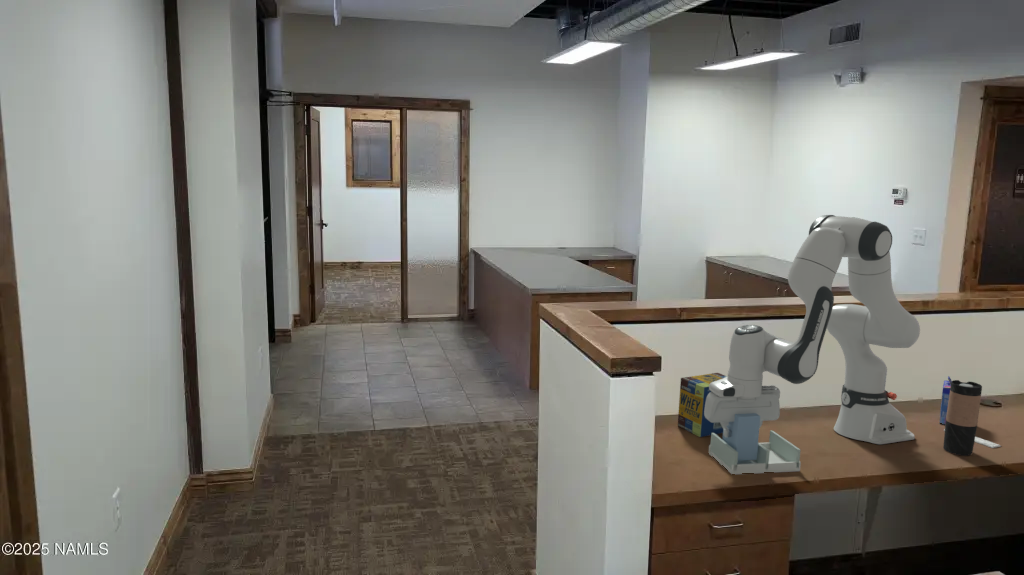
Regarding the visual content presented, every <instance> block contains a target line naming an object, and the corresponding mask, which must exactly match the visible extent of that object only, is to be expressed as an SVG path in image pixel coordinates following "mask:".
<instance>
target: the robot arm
mask: <svg viewBox="0 0 1024 575" xmlns="http://www.w3.org/2000/svg"><path fill="white" fill-rule="evenodd" d="M892 245H893V235H892V232H891V230H890V228H889V227H888V226H887V225H885V224H883V223H881V222H878V221H871V220H868V219H864V218H860V217H859V218H858V217H854V216H853V217H851V216H850V217H849V216H840V215H838V216H837V215H834V214H826V215H825V214H824V215H820V216H818V217H817V218H816V219H815V220H814V221H813V222H812V223H811V225H810V227H809V230H808V236H807V237H806V239H805V240H804V242H803V243H802V245H801V246H800V248H799V250H798V251H797V253H796V255H795V257H794V260H793V261H792V263H791V265H790V268H789V270H788V274H787V281H788V285H789V288H790V289H791V291H792V292H793V293H794V295H795V296H797V297H798V298H799V299H800V300H801V301H802V302H803V303H804V305H805V310H806V311H805V316H804V319H803V322H802V325H801V327H800V332H799V335H798V337H797V339H796V340H795V341H791V340H787V339H785V338H782V337H779V336H777V335H774V334H771V333H769V332H767V331H766V330H765V329H764V328H763V327H762V326H761V325H760V326H759V325H755V324H744V325H741V326H738V327H736V328H735V329H734V331H733V333H732V336H731V338H730V339H731V340H730V343H729V344H730V345H729V354H728V360H729V368H728V370H727V375H726V376H727V377H725V378H723V379H720V380H717V381H714V382H712V383H710V384H709V390H710V391H712V392H710V393H709V394H708V395H707V398H706V402H705V409H704V416H705V418H706V419H707V420H708V421H710V422H712V423H716V422H720V424H721V426H722V427H723V429H724V436H725V437H731V436H732V435H731V434H732V431H731V430H729V429H728V428H727V426H728V425H729V422H734V420H735V414H752V413H756V414H758V415H759V416H760V426H759V429H760V428H761V427H762V426H763V422H764V421H766V422H767V421H777V420H779V418H780V413H781V410H780V408H781V406H780V397H781V391H780V389H779V388H778V387H777V386H776V385H763V377H764V376H763V374H764V372H769V373H770V374H773V375H776V376H777V377H780V378H781V379H783V380H785V381H787V382H789V383H791V384H793V385H799V384H803V383H805V382H808V380H810V379H811V378H812V377H814V376H815V374H816V372H817V370H818V366H819V358H820V352H821V348H822V344H823V341H824V338H825V334H826V331H828V333H829V334H830V335H831V336H832V337H833V339H835V340H836V341H837V343H838V344H839V346H840V348H841V350H842V353H843V355H844V360H845V370H844V371H845V372H844V383H843V385H842V386H841V387H842V389H841V396H840V398H841V404H840V408H839V409H840V410H839V412H838V417H837V419H836V422H835V424H834V427H833V430H834V431H835V433H837V434H839V435H841V436H843V437H846V438H848V439H849V438H850V439H852V440H857V441H862V442H863V441H864V442H868V443H872V444H876V445H886V444H891V443H897V442H898V443H899V442H906V441H911V440H915V438H916V437H915V436H916V435H915V434H914V433H913V432H912V431H910V430H909V429H907V425H908V424H907V419H906V417H905V415H904V414H903V413H902V412H901V411H899V410H898V409H897V407H895V406H894V405H892V404H891V403H890V400H889V399H891V400H892V401H896V399H897V398H898V395H897V393H894V392H892V391H888V390H886V383H887V375H888V367H887V365H886V363H885V362H884V360H883V359H882V358H880V357H879V356H877V355H876V354H875V353H874V352H873V351H872V348H871V345H873V346H879V347H886V348H888V349H889V348H890V349H908V348H910V347H912V346H913V345H914V344H916V342H917V341H918V339H919V337H920V333H921V325H920V324H919V321H918V319H917V318H916V317H915V316H914V315H913V314H912V313H910V312H909V311H908V310H906V308H904V307H903V305H902V304H901V303H900V301H899V300H898V298H897V296H896V294H895V293H894V289H893V281H892V280H893V279H892V262H891V260H892V259H891V253H890V252H891V248H892ZM843 258H847V274H848V276H847V277H848V290H849V293H850V294H851V296H852V297H853V298H854V299H856V300H857V301H858V302H860V303H861V304H863V305H860V304H855V303H844V304H843V303H842V304H841V303H840V304H835V305H834V302H835V294H834V293H833V291H832V286H833V282H834V279H835V276H836V274H837V272H838V270H839V267H840V266H841V263H842V259H843Z"/></svg>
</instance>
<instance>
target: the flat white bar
mask: <svg viewBox="0 0 1024 575" xmlns="http://www.w3.org/2000/svg"><path fill="white" fill-rule="evenodd" d="M943 432H945V428H944V429H943ZM974 443H976V444H979V445H982V446H984V447H988V448H990V449H996V448H1000V447H1002V445H1000V444H999V443H998V444H997V443H996V442H993V441H990V440H986V439H983V438H981V437H978V436H975V441H974Z"/></svg>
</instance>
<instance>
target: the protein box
mask: <svg viewBox="0 0 1024 575" xmlns="http://www.w3.org/2000/svg"><path fill="white" fill-rule="evenodd" d="M727 376H728V375H725V374H722V373H720V372H712V373H706V374H701V375H700V374H699V375H694V376H693V375H691V376H686V377H680V385H679V399H678V412H677V413H678V415H677V416H678V417H677V427H678V428H679V427H680V428H682V429H683V430H686V431H687V432H689V433H691V434H693V435H695V436H697V437H699V438H704V437H709V436H711V433H715V434H716V435H720V434H723V427H722V426H721V424H720V422H716V423H712V422H710V421H708V420H707V419H706V418H705V416H704V409H705V402H706V398H707V395H708V394H709V393H710V392H712V391H710V390H709V384H710V383H712V382H714V381H717V380H720V379H723V378H725V377H727Z"/></svg>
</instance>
